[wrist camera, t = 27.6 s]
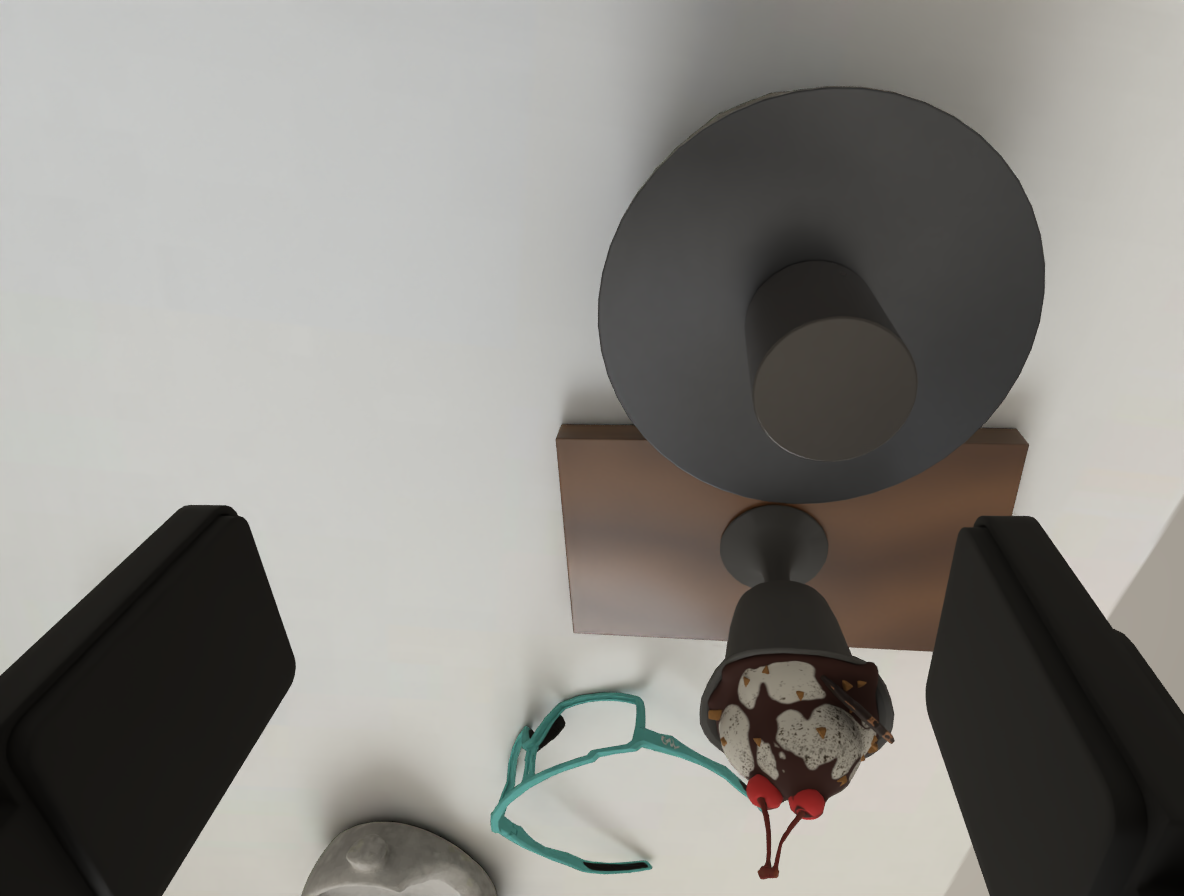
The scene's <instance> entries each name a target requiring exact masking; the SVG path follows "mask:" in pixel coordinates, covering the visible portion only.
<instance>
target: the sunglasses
mask: <svg viewBox="0 0 1184 896" xmlns="http://www.w3.org/2000/svg"><path fill="white" fill-rule="evenodd" d="M594 701H620V702H627V703H632V704H635V705H636V713H637V714H636V725H635V730H634V734H633V739H632V741H630V742H629V743H628V744H625V745H619V746H613V747H607V748H601V749H596V750H592V751H590V752H589V753H588V754H587V755H586V756H583V757H580V758H576V759H573V760H570V761H567V762H564V763H561V764H559V765H556V766H553V767H551V768H549V769H546V770H544V771H542V772H540V773H537V774H535V760H536V753H537V752H538V751H539V750H540V749H541V748H543V747H544V746H545V745H547V744H548V743H549V742H550V741H551V740H553V739H554V738H555V737H556V736H557V735H558V734H559V733H560V732H561V730H562V728H564V727H565V721H564V719H563V717H562V716H561V715H560V714H561V713H562V712H563V711H564V710H565V709H567V708H570V707H573V706H575V705H578V704H583V703H587V702H594ZM521 747H522V748H523V749H525V750H526V756H525V761H526V762H525V769H524V774H523V779H522V782H521V783H520V784H519V785H517V786H516V787H514V786H515V777H516V766H517V758H518V756H519V753H520V750H521ZM642 747H643V748H647V749H651V750H653V751H658V752H662V753H665V754H669V755H673V756H676V757H680V758H683V759H685V760H688V761H691V762H693V763H696V764H699V765H701V766H703V767H705V768H707V769H709V770H711V771H713V772H714V773H716V774H718V775H719V776H721V777H723V778H724V779H726V780H727V781H728V782H729V783H730V784H731V785H732V786H734V787H735V788H736V789H737V790H738V791H739V792H741V793H742V794H743V795H745V796H746V797H747V798H748V796H747V791H746V788H747V785H746V784H745V783H743V782H742V781H741V780H740V779H739V778H738V777H737V776H736V775H735V774H734V773H732V772H731V771H730V770H729V769H728V768H727V767H726V766H724V765H721V764H719V763H717V762H714V761H712V760H710V759H708V758H706V757H704V756H702V755H700V754H699V753H697V752H695V751H693V750H692V749H690V748H688V747H687V746H685V745H684V744H682V743H681V742H679V741H678V740H677V739H676V738H674V737H673V736H670V735H664V734H659V733H656V732H654V731H651V730H649V729H646V728H645V706H644V702H643V700H642V699H641V698H640V697H638V696H634V695H630V694H624V693H607V692H602V693H595V694H587V695H580V696H577V697H574V698H572V699H569V700H566V701H564V702H561V703H559V704H558V705H557V706H555V708H554V709H553V710H552V711H551V712H550V713H549V714H548V715H547V716H546V717H545V718H544V720H543V722H542V723H541V724H540V725H539V727H538V728H537V729H536V731H535V732H534V731H533V730H532V729H530V728H528V727H527V726H525V727H524V728H523V730H522V731H521V733H520V734H519V735H518V737H517V739H516V741H515V744H514V746H513V748H512V751H511V755H510V759H509V763H508V773H507V782H506V785H505V787H504V789H503V792H502V794H501V797H500V800H499V803H498V805H497V806H496V807H495V809H494V811H493V812H492V813H491V830H492V832H494V833H499V834H501V835H502V836H504V837H505V838H507V839H509V840H510V841H512V842H514V843H516V844H517V845H519V846H521V847H522V848H525V849H527V850H529V851H532V852H534V853H536V854H539V855H541V856H543V857H546V858H548V859H550V860H553V861H556V862H558V863H561V864H564V865H567V866H569V867H572V868H574V869H577V870H579V871H582V872H587V873H597V874H617V873H631V872H638V871H644V870H650V869H652V866H651V865H650V864H649V863H648V862H647V861H633V862H621V863H603V862H592V861H586V860H583V859H581V858H578V857H576V856H574V855H572V854H569V853H566V852H563V851H559V850H555V849H551V848H547V847H545V846H543V845H541V844H539V843H538V842H536V841H534V840H533V839H532V838H531V837H530V836H529V835H528V834H527V833H526V832H525V831H524V830H523V828H522V827H521V826H517V825H516V824H514V823H512V822H511V821H510V820H508V819H507V818H506V817H505V816H504V815H505V811H506V808H507V806H508V805H509V804H510V803H511V802H512V801H513V800H515V799H516V798H517V797H519V796H520V795H521V794H523V793H524V792H525V791H526V790H528V789H529V788H531V787H533V786H534V785H536V784H538V783H540V782H542V781H544V780H546V779H548V778H549V777H551V776H554V775H556V774H558V773H561V772H563V771H566V770H569V769H572V768H576V767H579V766H582V765H585V764H588V763H592V762H595V761H596V760H597V759H598V758H599V757H603V756H607V755H612V754H618V753H626V752H634V751H637V750H639V749H640V748H642ZM528 773H529V774H528ZM758 809H759V810H760V811H761V812H762V810H761V808H759V807H758Z"/></svg>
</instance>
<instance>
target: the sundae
mask: <svg viewBox="0 0 1184 896" xmlns="http://www.w3.org/2000/svg"><path fill="white" fill-rule="evenodd" d="M827 554H828V541H827V537H826V534H825V532H824V530H823V528H822V527H821V525H820V524H819V523H818V522H817V521H816V520H815V519H814V518H812V517H811V516H810V515H809V514H807V513H805V512H803V511H801V510H798V509H795V508H792V507H789V506H781V505H766V506H762V507H757V508H754V509H751V510H748V511H746V512H744V513H743V514H741V515H740V516H738V517H737V518H735V519H734V520H733V521H732V522H731V523H730V524H729V525H728V527H727V528H726V530H725V532H724V534H723V536H722V538H721V543H720V556H721V559H722V561H723V564H724V566H725V568H726V569H727V571H728V572H729V573H730V574H731V575H732V576H733V577H734V578H735V579H736V580H738V581H739V582H740V583H741V584H744V585H746V586H748V587H751V589H749V590H748V591H746V592H745V593H744V594H743V595H742V596H741V598H740V600H739V601H738V604H737V606H736V608H735V611H734V615H733V618H732V621H731V625H730V630H729V636H728V642H727V649H726V656H725V659H724V660H723V662H722V663H721V664H720V665H719V666H718V667H717V668H716V669H715V671H714V673H713V675H712V676H711V678H710V680H709V682H708V684H707V686H706V688H705V691H704V693H703V695H702V698H701V705H700V725H701V727H702V729H703V731H704V734H705V735H706V737H707V738H708V739H709V741H710V742H711V743H712V744H713V745H715V746H716V747H717V748H718V749H719V750H721V751H722V752H723V753H724V754H725V755H726V757H727V759H728V760H729V762H730V763H731V765H732V766H733V767H734V768H735V769H736V770H737V772H738V773H739V774H741V775H742V776H743V777H744V778H746V779H747V780H749V781H748V784H747V788H746V791H747V796H748V798H749V799H750V801H751V802H752V804H754V805H755V806H757V807H759V808H761V810H762V813H763V816H764V821H765V827H766V840H767V857H766V863H765V865H764V866H762V867H761V868H760V870H759V871H758V874H759V877H760V878H761V879H767V878H777V877H778V874H779V870H778V864H779V859H780V853H781V847H782V844H783V842H784V841H785V839H786V838H787V836H788V835H789V833H790V832H791V830H792V829H793V828H794V827H795V825H796V824H797V823H798V822H799V821H800V820H801V819H805V820H811V819H816V818H818V817H820V816H821V815H822V813H823V810H824V806H825V803H826V801H827V800H828V798H829V797H831V796H833V795H835V794H837V793H839V792H841V791H842V790H843V789H845V788H846V787H847V786H848V784H849V783H850V781H851V779H852V778H853V776H854V774H855V773H856V771H857V769H858V767H859V765H860V762H861V761H864V760H865V758H867V757H869V756H871V755H872V754H874V753H875V752H877V751H878V750H879V749H880V748H881V747H882V746H883V745H884V744H885V743H886V742H887V741H888V742H889V743H891V744H892V743H893V742H894V738H893V736H892V735H891V731H892V728H893V720H894V711H893V706H892V702H891V698H890V695H889V692H888V690H887V687H886V684H885V683H884V681H883V680H882V678H881V677H880V676H879V674H878V669H877V666H876V665H875V664H874V663H873V662H866V661H863V660H861V659H859V658H857V657H855V656H852V655H851V652H850V650H849V647H848V645H847V643H846V640H845V638H844V635H843V633H842V630H841V628H840V625H839V623H838V621H837V619H836V617H835V615H834V613H833V612H832V610H831V608H830V606H829V605H828V603H827V601H826V600H825V598H824V597H823V596H822V595H821V594H820V593H819V592H818V591H817V590H816V589H814V588H813V587H811V586H809V585H806V584H805V583H807V582H808V581H810V580H811V579H813V578H814V577H815V576H816V575H817V573H818V572H819V571H820V570H821V568H822V567H823V565H824V563H825V562H826V558H827ZM786 800H788V801H789V805H790V808H791V810H792V811H793V812H794V813H795V814H796V817H795V819H794V820H793V821H792V822H791V824H790V825H789V826H788V828H787V830H786V831H785V833H784V834H783V836H782V838H781V840H780V843H779V846H778V850H777V854H776V858H775V863H774V866H773V867H772V868H771V861H770V858H771V829H770V820H769V814H768V811H767V810H771V809H775V808H778V807H779V806H780V804H781V803H782V802H784V801H786Z"/></svg>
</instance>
